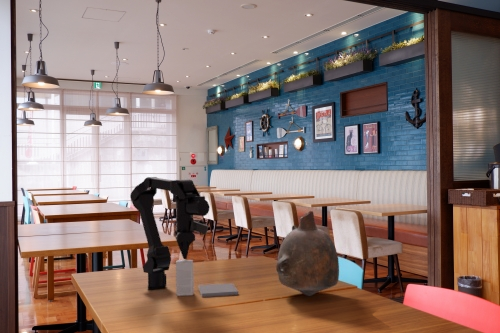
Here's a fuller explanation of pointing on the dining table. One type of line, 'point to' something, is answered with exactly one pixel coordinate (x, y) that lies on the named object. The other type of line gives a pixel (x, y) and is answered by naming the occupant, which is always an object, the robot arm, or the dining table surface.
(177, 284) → the skincare box
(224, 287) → the slate tile
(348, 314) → the dining table surface
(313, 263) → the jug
